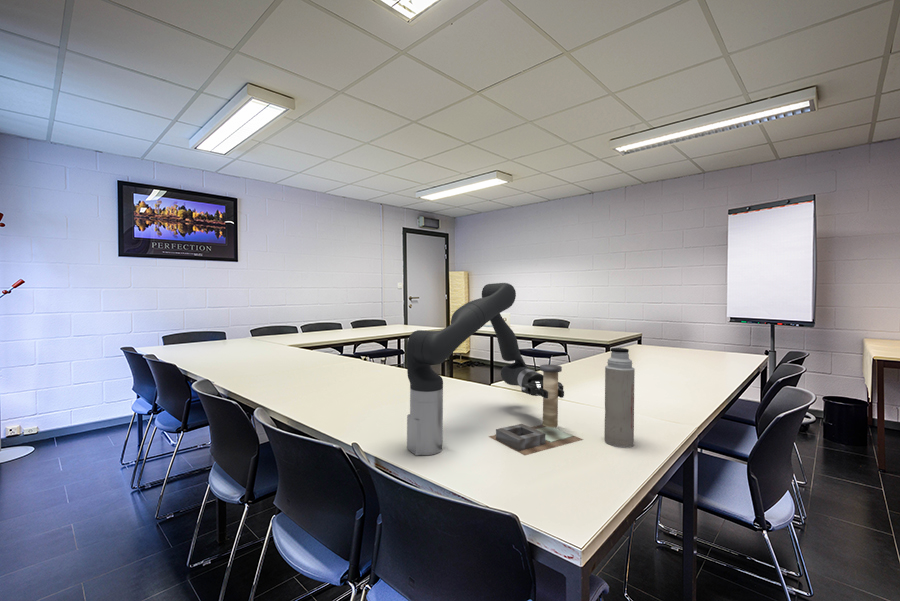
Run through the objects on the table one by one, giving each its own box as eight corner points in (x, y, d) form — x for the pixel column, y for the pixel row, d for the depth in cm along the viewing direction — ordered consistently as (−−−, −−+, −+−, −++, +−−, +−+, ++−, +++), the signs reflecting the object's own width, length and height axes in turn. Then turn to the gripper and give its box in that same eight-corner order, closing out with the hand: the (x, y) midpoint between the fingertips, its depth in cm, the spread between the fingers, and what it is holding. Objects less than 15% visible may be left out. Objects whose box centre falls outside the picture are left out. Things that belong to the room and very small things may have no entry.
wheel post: (550, 429, 114) (551, 369, 113) (535, 423, 119) (535, 365, 119) (565, 426, 117) (566, 367, 117) (550, 420, 123) (550, 363, 122)
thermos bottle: (636, 441, 115) (637, 348, 115) (630, 449, 109) (631, 350, 109) (608, 435, 120) (609, 345, 120) (601, 443, 114) (602, 348, 114)
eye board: (524, 459, 102) (524, 444, 102) (488, 439, 116) (488, 426, 116) (583, 442, 114) (583, 429, 114) (544, 427, 128) (544, 415, 128)
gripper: (512, 371, 131) (532, 383, 114) (551, 370, 133) (576, 381, 117) (511, 393, 131) (532, 408, 114) (551, 391, 133) (576, 406, 117)
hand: (554, 394), depth 115 cm, fingers closed on wheel post, 4 cm apart
